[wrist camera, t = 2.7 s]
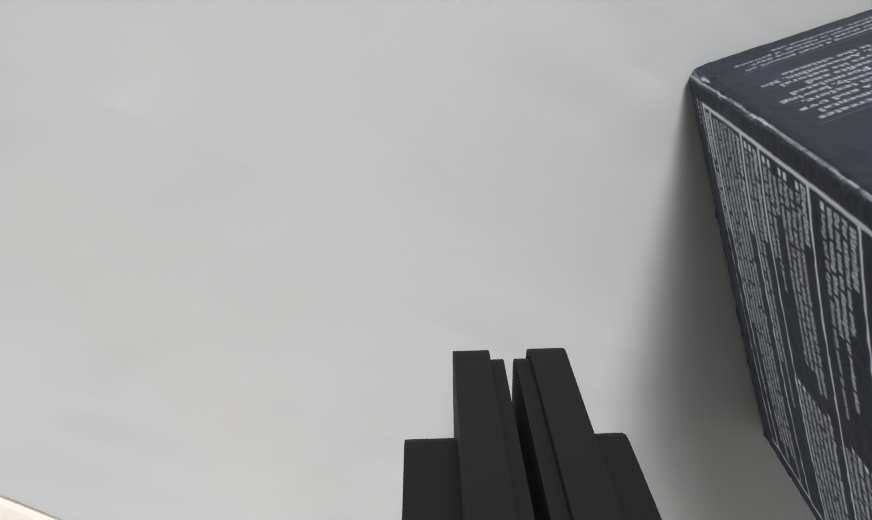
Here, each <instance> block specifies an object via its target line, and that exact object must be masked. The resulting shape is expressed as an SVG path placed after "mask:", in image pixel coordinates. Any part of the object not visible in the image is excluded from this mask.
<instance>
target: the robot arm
mask: <svg viewBox="0 0 872 520" xmlns="http://www.w3.org/2000/svg"><path fill="white" fill-rule="evenodd" d="M453 409H454V438H441V439H409V440H405V444H404V474H403V509H402V520H662V519H661V517H660V514H659V512H658V509H657V507H656V504H655V502H654V500H653V497H652V495H651V492H650V490H649V488H648V485H647V483H646V480H645V478H644V475H643V473H642V471H641V468H640V466H639V463H638V461H637V458H636V456H635V454H634V451H633V449H632V446H631V444H630V442H629V440H628V438H627V436H626V435H625V434H623V433H601V434H594V431H593V428H592V425H591V422H590V420H589V417H588V414H587V411H586V408H585V405H584V402H583V400H582V397H581V394H580V391H579V388H578V385H577V382H576V379H575V377H574V374H573V371H572V368H571V365H570V362H569V359H568V357H567V354H566V351H565V349H564V348H545V349H527V352H526V359H514V361H513V383H512V401H511V396H510V391H509V386H508V380H507V375H506V370H505V365H504V361H503V359H496V360H490V354H489V351H488V350H479V351H453Z"/></svg>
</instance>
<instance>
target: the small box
mask: <svg viewBox="0 0 872 520" xmlns="http://www.w3.org/2000/svg"><path fill="white" fill-rule="evenodd" d="M689 84H690V89H691V92H692V96H693V100H694V106H695V110H696V117H697V122H698V127H699V132H700V137H701V141H702V147H703V151H704V155H705V161H706V164H707V169H708V175H709V179H710V183H711V188H712V193H713V198H714V203H715V210H716V218H717V220H718V222H719V225H720V232H721V236H722V240H723V246H724V251H725V255H726V260H727V263H728V268H729V274H730V277H731V284H732V289H733V292H734V297H735V302H736V313H737V317H738V320H739V323H740V327H741V334H742V336H743V340H744V344H745V350H746V353H747V361H748V365H749V368H750V373H751V377H752V382H753V385H754V389H755V394H756V399H757V402H758V406H759V411H760V415H761V419H762V423H763V430H764V436H765V437H766V439H767V440H768V441H769V443H770V445H771V446H772V448H773V449H774V451H775V452H776V454H777V456H778V457H779V459H780V461H781V463H782V464H783V466H784V468H785V469H786V471H787V473H788V475H789V476H790V477H791V478H792V480H793V482H794V483H795V485H796V487H797V488H798V490H799V492H800V494H801V495H802V497H803V498H804V500H805V501H806V503H807V505H808V506H809V508H810V509H811V511H812V513H813V514H814V516H815V518H816V520H872V10H868V11H865V12H862V13H859V14H856V15H854V16H851V17H848V18H844V19H841V20H838V21H835V22H832V23H829V24H826V25H823V26H820V27H817V28H814V29H811V30H808V31H805V32H802V33H799V34H796V35H793V36H790V37H787V38H784V39H781V40H778V41H775V42H772V43H769V44H765V45H762V46H759V47H755V48H752V49H749V50H747V51H744V52H741V53H738V54H735V55H731V56H728V57H725V58H722V59H720V60H717V61H713V62H710V63H707V64H705V65H703V66H700V67H698V68H696V69H695V70H694V71H693V72H692V74H691V75H690V78H689Z"/></svg>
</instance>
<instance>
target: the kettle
mask: <svg viewBox="0 0 872 520" xmlns="http://www.w3.org/2000/svg"><path fill="white" fill-rule="evenodd" d="M0 520H59V519H57V518H54V517H52V516H49V515H47V514H44V513H42V512H39V511H37V510H34V509H32V508H29V507H27V506H25V505H22V504H20V503H17V502H15V501H12V500H10V499H7V498H5V497H2V496H0Z"/></svg>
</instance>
